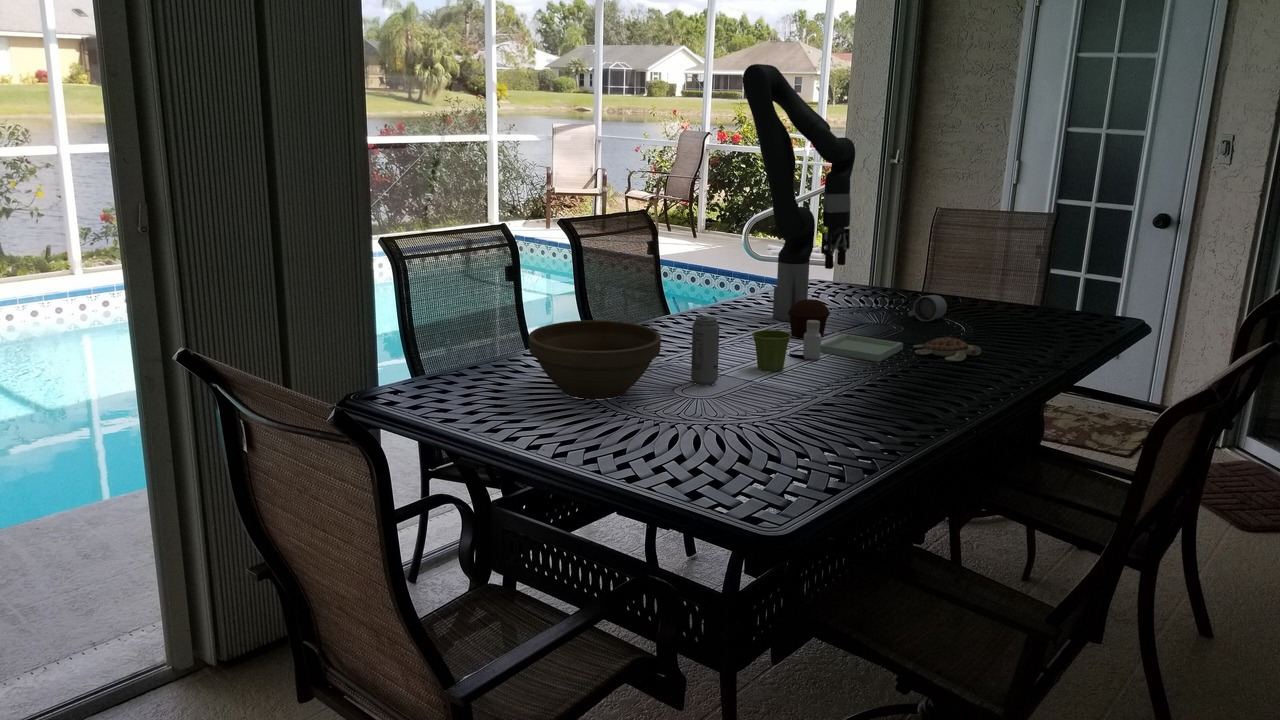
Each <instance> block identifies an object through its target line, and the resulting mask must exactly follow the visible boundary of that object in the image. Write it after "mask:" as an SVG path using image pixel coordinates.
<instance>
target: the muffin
mask: <svg viewBox="0 0 1280 720" xmlns="http://www.w3.org/2000/svg"><path fill="white" fill-rule="evenodd" d="M830 314H831V311H830V310H829V308H828V307H827V306H826V305H825V304H824V303H823V302H822V301H819V300H817V299H813V298H812V299H811V298H808V299H805V300H800V301H798V302H796V303H795V304H793V306H792V307H791V308H790V310H789V311H788V315H790V321H789V323H790V334H791V335H792V336H791V337H793V336H794V337H793V338H795V337H797V338H796V339H799V338H804V333H806V332H807V321H808V320H817V321H820V329H819V333H820V334H821V337H823V338H824V334H825V329H826V325H827V320H828V317H829V316H830Z"/></svg>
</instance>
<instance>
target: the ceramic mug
mask: <svg viewBox="0 0 1280 720" xmlns="http://www.w3.org/2000/svg"><path fill="white" fill-rule="evenodd" d="M947 310H948V305H947V302H946V300H945V298H943V297H942V296H940V295H938V294H937V295H936V294H931V295H922V296H921V297H918V298H917V299H916V300H915V302H914V304H913V309H911V310H910V311H908V312H907V314H908V317H914V316H915V317H916V318H917V320H919V321H921V322H924V321H926V322H931V321H935V320H937V319H939V318H941V317H943V316H944V315H945V314H946V313H947Z"/></svg>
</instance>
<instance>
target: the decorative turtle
mask: <svg viewBox="0 0 1280 720" xmlns="http://www.w3.org/2000/svg"><path fill="white" fill-rule="evenodd" d="M912 348H914V349H916V350H914V353H915V354H917V355H923V356H924V355H930V354H931V355H934V356H937V357H942V358H944V360H945V361H946V362H947V361H948V362H961V361H964V360H965V359H967V356H972V357H973V356H979V355H980V354H981V353H982V349H981V348H980V347H979V346H978V345H973V344H972V345H970V344H968V343H967V342H965V341H963V340H961V339H959V338H954V337H953V336H952V337H951V336H945V337H939V338H935V339H932V340H930V341H927V342H925V343H923V344H914V345H913V346H912Z"/></svg>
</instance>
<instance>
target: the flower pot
mask: <svg viewBox="0 0 1280 720" xmlns="http://www.w3.org/2000/svg"><path fill="white" fill-rule="evenodd" d="M661 344H662V337H661V334H660V333H659V331H657V330H655V329H653V328H650V326H649V327H648V326H645V325H643V324H642V325H641V324H637V323H633V322H626V321H617V320H602V319H601V320H600V319H592V320H591V319H587V320H570V321H563V322H557V323H552V324H546V325H544V326H541V327H538V328H535V329H533V330H532V331H531V332H530V333H529V334H528V349H529V353H530V355H531V356H533V358H535V359H536V361H537V362H538V363H539V366H540V367H541V369H542V370H543V372H544V373H545V374H546V375H547V377H548V378H549V379H550V380H551V381H552V383H554V385H556V386H557V388H559V389H560V390H561V392H562V393H563V394H564V393H565V394H567V395H569V396H573V397H578V398H584V399H585V398H586V399H606V398H614V397H618V396H621V397H623V396H624V395H626V394H627V393H628V391H629V390H630V389H631V388H632V387H633V386H635V384H636V383H637V382H638V381H639V380H640V379H641V378H642V376H644V374H645V372H646V371H647V370H648V368H649V366H651V363H652V362H653V360H654V359H656V358H657V357H658V356H659V355H660V353H661V346H662V345H661ZM565 394H564V395H565ZM567 395H566V396H567ZM622 395H623V396H622ZM569 396H568V397H569ZM618 398H619V397H618Z"/></svg>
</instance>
